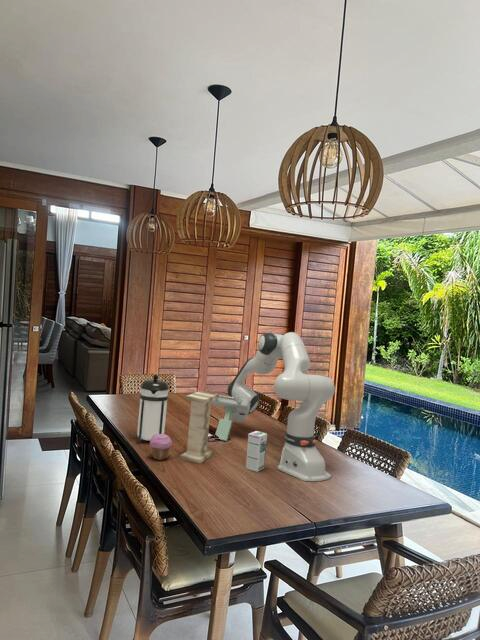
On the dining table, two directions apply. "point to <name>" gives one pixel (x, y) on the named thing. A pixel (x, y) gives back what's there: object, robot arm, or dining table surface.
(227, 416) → the spatula
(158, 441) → the cupcake
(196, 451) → the stand
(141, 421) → the coffee press
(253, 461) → the syrup box
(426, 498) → the dining table surface
